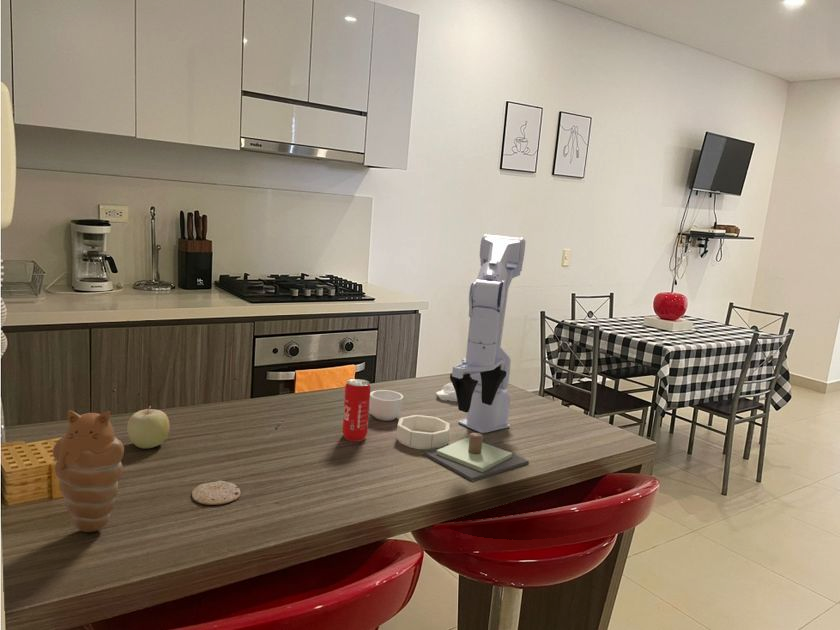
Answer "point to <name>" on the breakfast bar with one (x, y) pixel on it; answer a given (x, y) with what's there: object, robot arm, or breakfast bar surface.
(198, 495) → the flatbread
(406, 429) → the bowl
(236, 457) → the breakfast bar surface
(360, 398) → the beverage can
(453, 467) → the mat
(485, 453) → the lid
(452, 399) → the white rounded piece
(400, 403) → the teacup
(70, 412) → the cat ice cream
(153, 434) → the fruit
